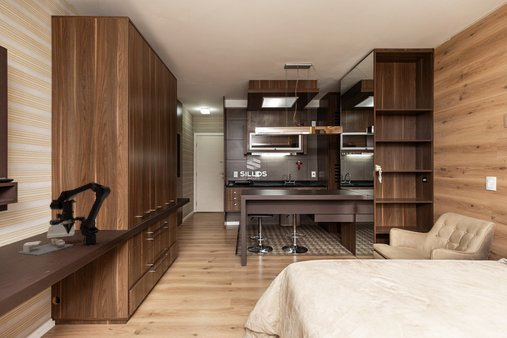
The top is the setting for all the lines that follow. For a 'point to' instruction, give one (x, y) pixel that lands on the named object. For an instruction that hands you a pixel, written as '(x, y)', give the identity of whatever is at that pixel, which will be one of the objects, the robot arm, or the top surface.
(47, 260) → the top surface
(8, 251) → the top surface
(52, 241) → the link
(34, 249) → the pintle base
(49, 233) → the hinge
